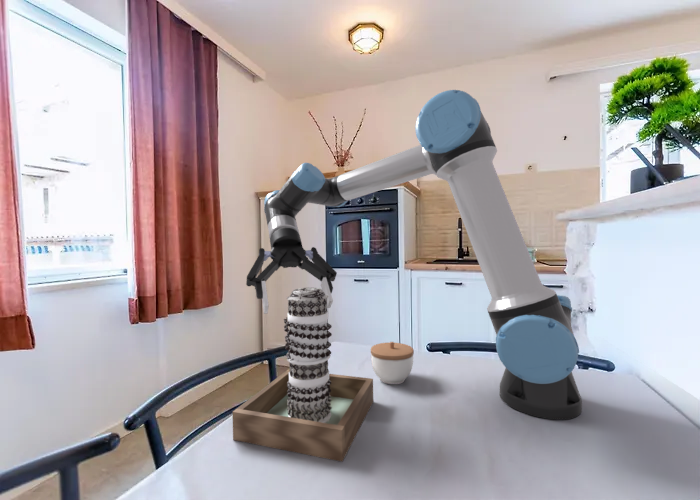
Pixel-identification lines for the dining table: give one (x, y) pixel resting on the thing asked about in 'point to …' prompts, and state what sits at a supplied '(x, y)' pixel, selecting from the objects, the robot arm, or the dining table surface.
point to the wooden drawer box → (304, 435)
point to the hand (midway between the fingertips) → (299, 307)
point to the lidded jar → (392, 361)
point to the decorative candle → (308, 355)
